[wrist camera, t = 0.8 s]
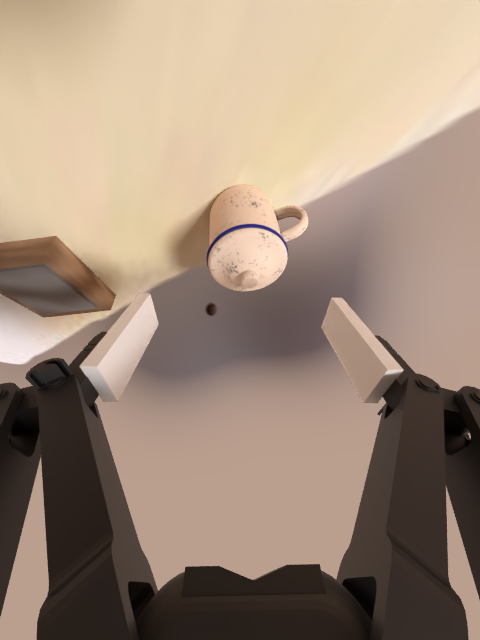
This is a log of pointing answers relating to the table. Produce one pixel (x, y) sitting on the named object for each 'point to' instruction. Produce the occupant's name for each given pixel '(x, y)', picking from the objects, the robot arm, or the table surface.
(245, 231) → the teacup with lid
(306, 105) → the table surface
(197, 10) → the table surface
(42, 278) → the plinth
